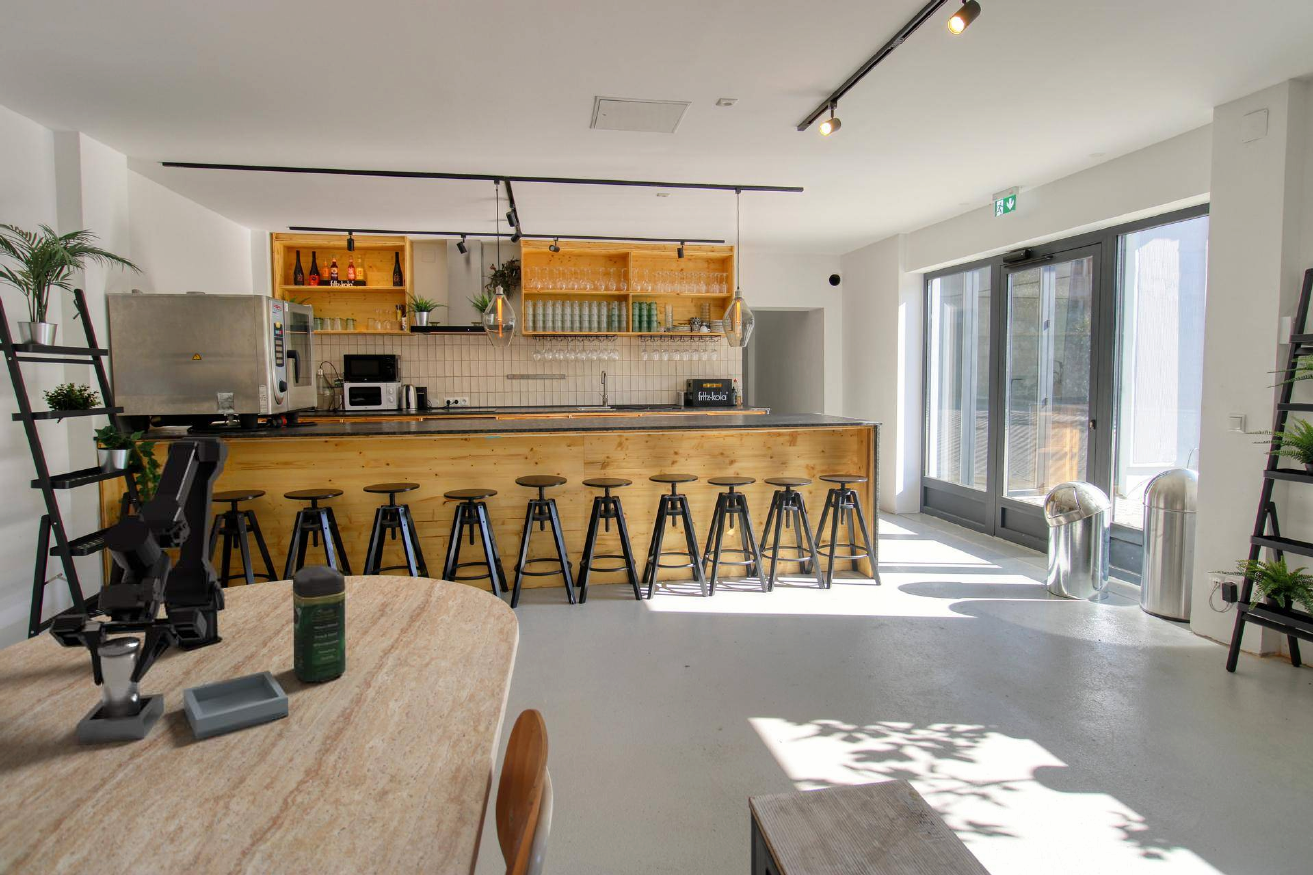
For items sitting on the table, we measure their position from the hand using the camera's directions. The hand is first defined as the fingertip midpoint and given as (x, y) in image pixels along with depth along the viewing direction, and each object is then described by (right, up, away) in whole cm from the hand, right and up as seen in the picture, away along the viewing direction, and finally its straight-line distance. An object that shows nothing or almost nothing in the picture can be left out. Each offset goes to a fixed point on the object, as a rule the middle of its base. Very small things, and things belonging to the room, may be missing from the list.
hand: (116, 683), depth 105 cm
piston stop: (-1, -6, +2) cm, 7 cm away
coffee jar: (+19, -6, +23) cm, 30 cm away
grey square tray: (-1, -7, +2) cm, 8 cm away
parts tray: (+13, -7, +8) cm, 16 cm away
